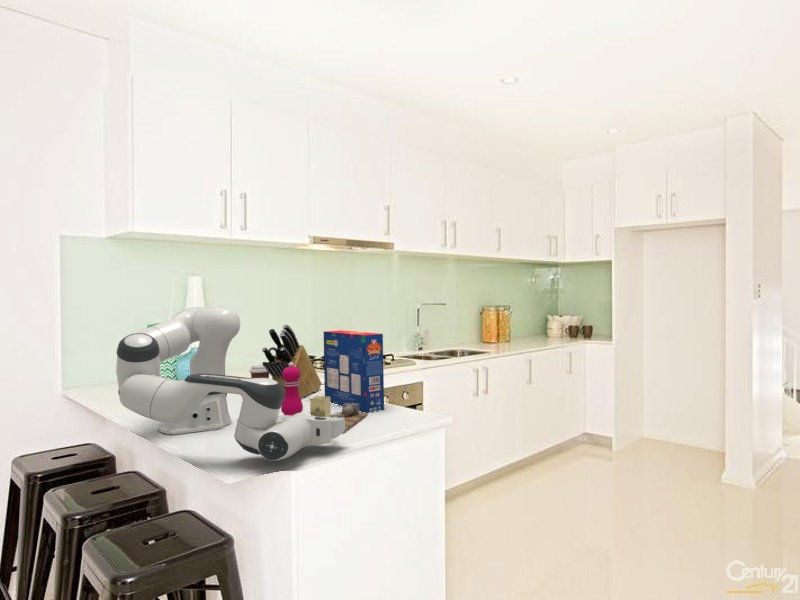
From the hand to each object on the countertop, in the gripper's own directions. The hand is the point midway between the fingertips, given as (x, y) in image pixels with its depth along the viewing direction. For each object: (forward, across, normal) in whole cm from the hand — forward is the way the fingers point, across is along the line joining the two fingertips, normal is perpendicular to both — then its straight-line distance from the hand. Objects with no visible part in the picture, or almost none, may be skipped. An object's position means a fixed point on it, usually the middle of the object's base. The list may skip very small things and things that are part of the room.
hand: (319, 418), depth 159 cm
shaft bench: (+20, 0, -6) cm, 21 cm away
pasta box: (+47, -6, -6) cm, 48 cm away
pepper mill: (+20, -18, -6) cm, 28 cm away
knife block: (+60, -36, -6) cm, 70 cm away
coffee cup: (+65, -54, -6) cm, 85 cm away
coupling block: (+2, 0, -6) cm, 7 cm away
